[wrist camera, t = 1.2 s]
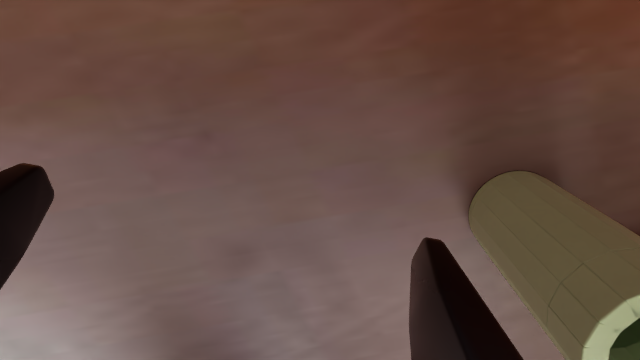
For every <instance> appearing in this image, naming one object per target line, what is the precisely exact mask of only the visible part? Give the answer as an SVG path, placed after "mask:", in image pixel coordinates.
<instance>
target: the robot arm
mask: <svg viewBox="0 0 640 360" xmlns="http://www.w3.org/2000/svg"><path fill="white" fill-rule="evenodd" d="M53 198H54V190H53V188H52V186H51V183H50V181H49V179H48V176H47V174H46V172H45V170H44V169H43V168H42V167H41V166H37V165H32V164H26V163H22V164H18V165H15V166H13V167H11V168H8V169H6V170H3V171H1V172H0V289H1V288H2V287H3V285H4V284H5V282H6V281H7V279H8V278H9V276H10V275H11V273H12V272H13V270H14V269H15V268H16V266H17V265H18V263H19V261H20V260H21V258H22V257H23V255H24V253H25V252H26V250H27V248H28V246H29V244H30V243H31V241H32V239H33V237H34V235H35V233H36V231H37V230H38V228H39V226H40V224H41V222H42V220H43V218H44V216H45V215H46V213H47V211H48V209H49V207H50V205H51V203H52V201H53ZM409 334H410V347H411V360H523V358H522V357H521V355H520V354H519V352H518V351H517V349H516V348H515V346H514V345H513V344H512V342H511V341H510V339H509V338H508V336H507V335H506V333H505V332H504V330H503V329H502V327H501V326H500V324H499V323H498V322H497V320H496V319H495V317H494V316H493V314H492V313H491V311H490V310H489V308H488V307H487V305H486V304H485V303H484V301H483V300H482V298H481V297H480V295H479V294H478V292H477V291H476V289H475V288H474V286H473V285H472V283H471V282H470V281H469V279H468V278H467V276H466V275H465V273H464V272H463V270H462V269H461V267H460V266H459V264H458V263H457V261H456V260H455V259H454V257H453V256H452V254H451V253H450V251H449V250H448V248H447V247H446V245H445V244H444V243H443V242H442V241H441V240H438V239H433V238H424V239H423V240H422V242H421V243H420V245H419V247H418V249H417V251H416V253H415V255H414V257H413V259H412V264H411V283H410V309H409Z"/></svg>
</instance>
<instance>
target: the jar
mask: <svg viewBox="0 0 640 360" xmlns="http://www.w3.org/2000/svg"><path fill="white" fill-rule="evenodd" d="M469 224H470V228H471V230H472V232H473V234H474V236H475V237H476V239H477V241H478V242H479V244H480V245H481V246H482V248H483V249H484V250H485V252H486V253H487V254H488V256H489V257H490V258H491V260H492V261H493V263H494V264H495V265H496V267H497V268H498V269H499V271H500V272H501V273H502V275H503V276H504V277H505V279H506V280H507V281H508V283H509V284H510V285H511V287H512V288H513V289H514V291H515V292H516V294H517V295H518V296H519V298H520V299H521V300H522V302H523V303H524V304H525V306H526V307H527V308H528V310H529V311H530V312H531V314H532V315H533V316H534V318H535V319H536V320H537V322H538V323H539V324H540V326H541V327H542V329H543V330H544V331H545V333H546V334H547V335H548V337H549V338H550V339H551V341H552V342H553V343H554V345H555V346H556V347H557V349H558V350H559V351H560V353H561V354H562V355H563V357H564V358H565V359H566V360H640V236H639V235H637V234H636V233H634V232H632V231H631V230H629V229H627V228H626V227H624V226H623V225H621V224H619V223H618V222H616V221H614V220H613V219H611V218H610V217H608V216H606V215H605V214H603V213H601V212H600V211H598V210H596V209H595V208H593V207H592V206H590V205H588V204H587V203H585V202H583V201H582V200H580V199H579V198H577V197H575V196H574V195H572V194H570V193H569V192H567V191H566V190H564V189H562V188H561V187H559V186H557V185H556V184H554V183H553V182H551V181H549V180H548V179H546V178H544V177H541V176H539V175H537V174H535V173H532V172H527V171H513V172H507V173H504V174H501V175H499V176H496V177H494V178H493V179H491V180H489V181H488V182H487V183H485V184H484V185H483V186H482V187H481V188H480V189H479V191H478V192H477V193H476V195H475V196H474V198H473V200H472V202H471V205H470V209H469Z"/></svg>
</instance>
